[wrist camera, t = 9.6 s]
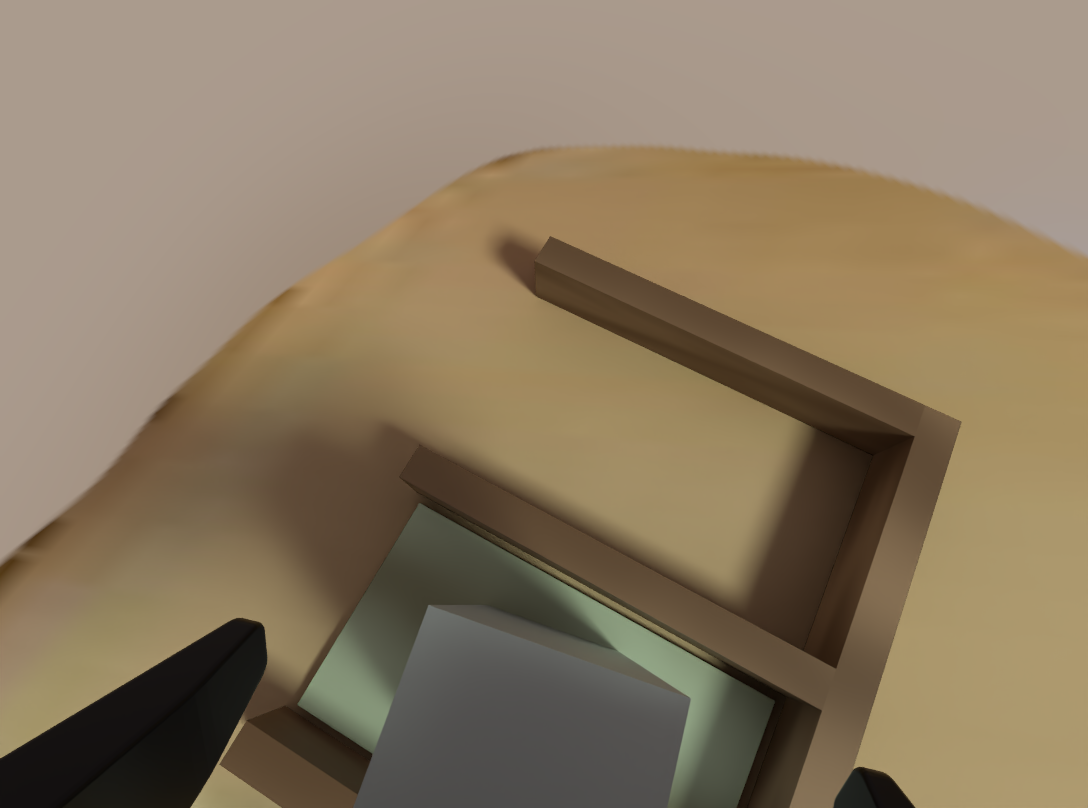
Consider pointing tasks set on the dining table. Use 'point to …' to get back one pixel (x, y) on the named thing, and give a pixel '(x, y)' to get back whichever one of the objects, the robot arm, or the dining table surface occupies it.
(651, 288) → the comb rack
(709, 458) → the dining table surface
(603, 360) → the dining table surface
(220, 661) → the robot arm
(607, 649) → the tall grey square prism
